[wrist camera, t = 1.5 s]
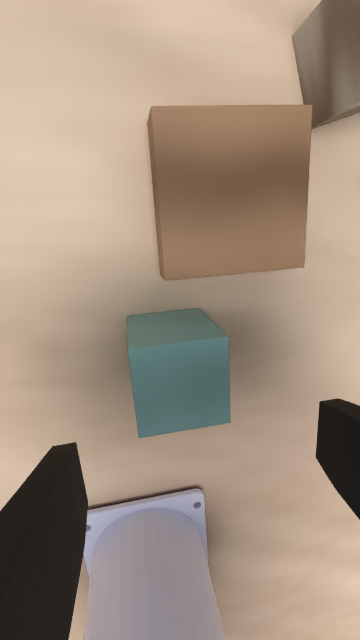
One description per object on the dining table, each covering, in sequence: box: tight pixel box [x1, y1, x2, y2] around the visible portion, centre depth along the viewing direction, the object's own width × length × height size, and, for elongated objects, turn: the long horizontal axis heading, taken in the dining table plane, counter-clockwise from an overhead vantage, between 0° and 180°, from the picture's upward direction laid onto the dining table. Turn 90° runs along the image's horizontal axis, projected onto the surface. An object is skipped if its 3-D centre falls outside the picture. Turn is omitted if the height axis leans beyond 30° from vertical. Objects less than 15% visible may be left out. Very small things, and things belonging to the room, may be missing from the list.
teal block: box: [127, 308, 231, 438], centre depth 15 cm, size 4×4×5 cm
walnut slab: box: [148, 105, 312, 280], centre depth 15 cm, size 7×7×2 cm
